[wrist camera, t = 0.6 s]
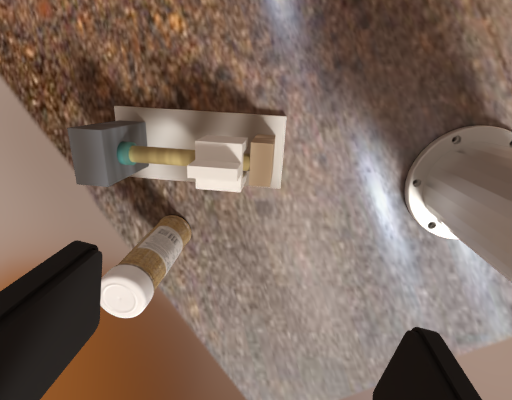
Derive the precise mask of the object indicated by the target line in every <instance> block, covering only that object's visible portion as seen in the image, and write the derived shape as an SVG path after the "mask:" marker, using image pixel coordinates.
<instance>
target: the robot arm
mask: <svg viewBox="0 0 512 400" xmlns="http://www.w3.org/2000/svg"><path fill="white" fill-rule="evenodd" d="M453 137H454V140H453V141H452V139H453ZM415 179H416V181H415V182H414V183H413V181H414V180H415ZM404 193H405V201H406V205H407V208H408V210H409V212H410V214H411V215H412V217H413V218H414V220H415V221H416V222H417V223H418V224H419V225H420V226H421V227H423V228H424V229H425V230H426V231H428V232H430V233H432V234H434V235H436V236H439V237H443V238H446V239H455V240H461V241H462V242H463V243H464V244H466V245H467V246H468V247H469V248H471V249H472V250H473V251H474V252H475V253H477V254H478V255H479V256H480V257H481V258H483V259H484V260H485V261H486V262H487V263H489V264H490V265H491V266H492V267H493V268H495V269H496V270H497V271H498V272H499V273H501V274H502V275H503V276H504V277H505V278H507V279H508V280H509V281H510V282H512V132H511V131H509V130H506V129H504V128H500V127H494V126H484V125H475V126H467V127H463V128H459V129H456V130H453V131H451V132H448V133H446V134H444V135H442V136H440V137H439V138H437V139H436V140H435V141H433V142H432V143H430V144H429V145H428V146H427V147H426V148H425V149H424V150H423V151H422V152H421V153H420V154H419V156H418V157H417V158H416V160H415V161H414V162H413V164H412V166H411V168H410V170H409V172H408V175H407V179H406V182H405V192H404ZM101 275H102V253H101V252H100V251H98V247H97V246H96V245H93V244H89V243H86V242H81V241H74V242H72V243H70V244H69V245H67V246H66V247H64V248H63V249H62V250H60V251H59V252H57V253H56V254H54V255H53V256H51V257H50V258H48V259H47V260H46V261H44V262H43V263H41V264H40V265H38V266H37V267H35V268H34V269H32V270H31V271H29V272H28V273H27V274H25V275H24V276H22V277H21V278H19V279H18V280H16V281H15V282H13V283H12V284H10V285H9V286H8V287H6V288H5V289H3V290H2V291H0V400H40V399H41V398H42V396H43V395H44V394H45V393H46V391H47V390H48V389H49V387H50V386H51V385H52V384H53V383H54V382H55V380H56V379H57V378H58V377H59V375H60V374H61V373H62V372H63V370H64V369H65V368H66V367H67V365H68V364H69V363H70V362H71V360H72V359H73V358H74V357H75V356H76V354H77V353H78V352H79V351H80V349H81V348H82V347H83V346H84V344H85V343H86V342H87V341H88V340H89V338H90V337H91V336H92V335H93V333H94V332H95V330H96V329H97V326H98V324H99V320H100V300H101V277H102V276H101ZM373 400H482V399H481V398H480V396H479V394H478V393H477V391H476V390H475V389H474V387H473V385H472V384H471V382H470V381H469V379H468V378H467V376H466V374H465V373H464V371H463V370H462V368H461V367H460V365H459V364H458V362H457V360H456V359H455V357H454V356H453V354H452V353H451V351H450V350H449V348H448V346H447V345H446V343H445V342H444V340H443V339H442V337H441V336H440V335H439V334H438V333H437V332H435V331H431V330H427V329H423V328H419V327H415V328H413V329H412V330H411V331H407V332H406V333H405V335H404V336H403V338H402V340H401V342H400V344H399V346H398V347H397V349H396V351H395V353H394V355H393V357H392V358H391V360H390V362H389V364H388V366H387V368H386V369H385V371H384V373H383V375H382V377H381V379H380V380H379V382H378V384H377V386H376V388H375V389H374V392H373Z"/></svg>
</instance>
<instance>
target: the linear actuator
mask: <svg viewBox="0 0 512 400" xmlns="http://www.w3.org/2000/svg"><path fill="white" fill-rule="evenodd" d="M114 112H115V121H112V122H105V123H98V124H91V125H85V126H78V127H71V128H67V129H68V135H69V141H70V146H71V152H72V158H73V164H74V170H75V176H76V182H77V184H81V185H93V186H105V187H109V186H111V185H113V184H115V183H117V182H119V181H121V180H123V179H125V178H127V177H139V178H151V179H164V180H176V181H189V182H196V179H195V178H187V165H189V164H190V163H191V162H193V161H194V160H195V141H196V140H198V139H200V138H202V137H204V136H206V135H216V136H231V137H246V138H248V147H247V149H246V150H245V151H244V153H243V171H247V178H246V182H245V184H244V186H251V187H264V188H276V189H280V187H281V176H282V164H283V152H284V141H285V129H286V117H287V116H277V115H261V114H245V113H228V112H212V111H195V110H179V109H162V108H146V107H130V106H114Z"/></svg>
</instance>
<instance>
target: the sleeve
mask: <svg viewBox="0 0 512 400" xmlns="http://www.w3.org/2000/svg"><path fill="white" fill-rule="evenodd" d="M247 147H248V138H246V137H231V136H216V135H206V136H204V137H202V138H200V139H198V140H196V141H195V160H194V161H193V162H191V163H190V164H189V165H187V178H195V179H196V189H206V190H218V191H231V192H241V190H242V188H243V186H244V184H245V182H246V178H247V171H243V153H244V151H245V150H246V149H247Z"/></svg>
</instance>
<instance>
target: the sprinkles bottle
mask: <svg viewBox="0 0 512 400" xmlns="http://www.w3.org/2000/svg"><path fill="white" fill-rule="evenodd" d="M190 238H191V229H190V226H189V224H188V223H187V222H186V221H185V220H184V219H183V218H181V217H179V216H175V215H170V216H165V217H163V218H162V219H161V220H160V221H159V223H158V224H157V225H156V226H155V227H154V228H153V229H152V230H150V231H149V232H148V233H147V234H146V235H145V236H144V237H143V238H142V239H141V240H140V242H139V243H138V244H137V245H136V246H135V247H134V248H133V249H132V251H131V252H130V253H129V254H128V255H127V256H126V257H125V258H124V259H123V260H122V261H121V262H120V263H119V264H118V265H116V266H115V267H113V268H112V269H110V270H109V271H108V272H107V273H106V274H105V275H104V277H103V278H102V279H101V300H100V305H101V306H102V307H103V309H104V310H106V311H107V312H108V313H110V314H112V315H114V316H116V317H120V318H132V317H135V316H137V315H139V314H140V313H141V312H142V311H143V310H144V309H145V307H146V306H147V304H148V303H149V302H150V300H151V299H152V296H153V294H154V291H155V289H156V288H157V286H158V284H159V283H160V282H161V280H162V279H163V278H164V277H165V275H166V274H167V272H168V271H169V269H170V268H171V266H172V265H173V263H174V262H175V260H176V259H177V257H178V256H179V254H180V253H181V251H182V249H183V247H184V246H185V244H187V243H188V241H189V240H190Z"/></svg>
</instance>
